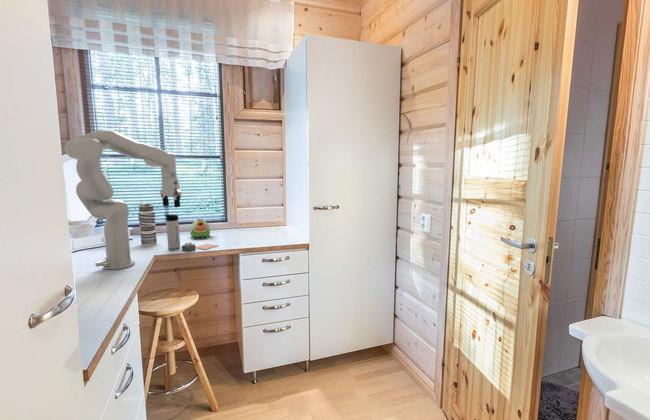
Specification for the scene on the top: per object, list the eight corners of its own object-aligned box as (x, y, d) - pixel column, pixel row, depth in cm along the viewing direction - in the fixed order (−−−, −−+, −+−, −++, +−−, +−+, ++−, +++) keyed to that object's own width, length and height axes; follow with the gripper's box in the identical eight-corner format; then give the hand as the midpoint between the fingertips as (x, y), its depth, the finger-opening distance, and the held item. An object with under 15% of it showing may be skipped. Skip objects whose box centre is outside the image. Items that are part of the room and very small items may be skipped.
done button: (188, 247, 184) (187, 244, 183) (183, 246, 186) (183, 243, 185) (193, 246, 187) (193, 242, 187) (189, 245, 189) (188, 242, 188)
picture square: (204, 249, 187) (204, 249, 187) (192, 247, 192) (192, 247, 192) (218, 246, 196) (218, 245, 196) (206, 244, 201) (206, 243, 201)
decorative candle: (150, 246, 196) (147, 204, 192) (136, 246, 197) (133, 204, 194) (161, 243, 204) (158, 202, 201) (147, 242, 206) (144, 202, 203)
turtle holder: (208, 233, 233) (207, 216, 231) (211, 238, 216) (210, 220, 215) (189, 235, 227) (187, 217, 226) (191, 240, 211) (190, 221, 209)
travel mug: (168, 248, 191) (165, 213, 189) (180, 247, 194) (178, 213, 191) (167, 251, 186) (164, 215, 183) (180, 249, 188) (177, 214, 185)
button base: (188, 252, 183) (187, 246, 183) (182, 250, 186) (181, 245, 185) (195, 250, 187) (195, 244, 187) (189, 248, 190) (189, 243, 189)
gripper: (185, 175, 183) (187, 206, 186) (165, 175, 192) (167, 204, 194) (173, 176, 177) (175, 208, 179) (153, 175, 185) (155, 206, 188)
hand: (171, 206), depth 187 cm, fingers open, 9 cm apart
